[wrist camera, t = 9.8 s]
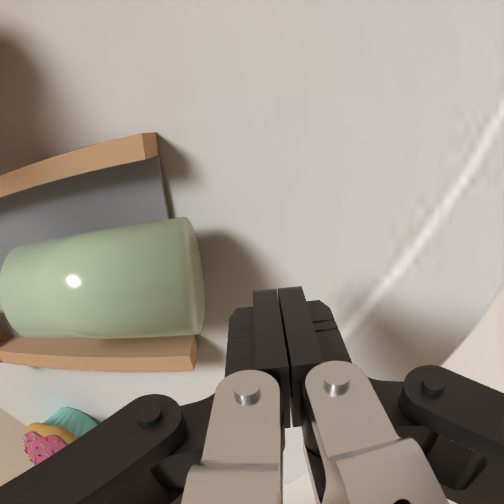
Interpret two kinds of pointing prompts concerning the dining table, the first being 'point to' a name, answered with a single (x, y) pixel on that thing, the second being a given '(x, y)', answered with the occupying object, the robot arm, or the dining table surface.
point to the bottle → (107, 284)
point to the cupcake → (55, 433)
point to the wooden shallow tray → (81, 221)
